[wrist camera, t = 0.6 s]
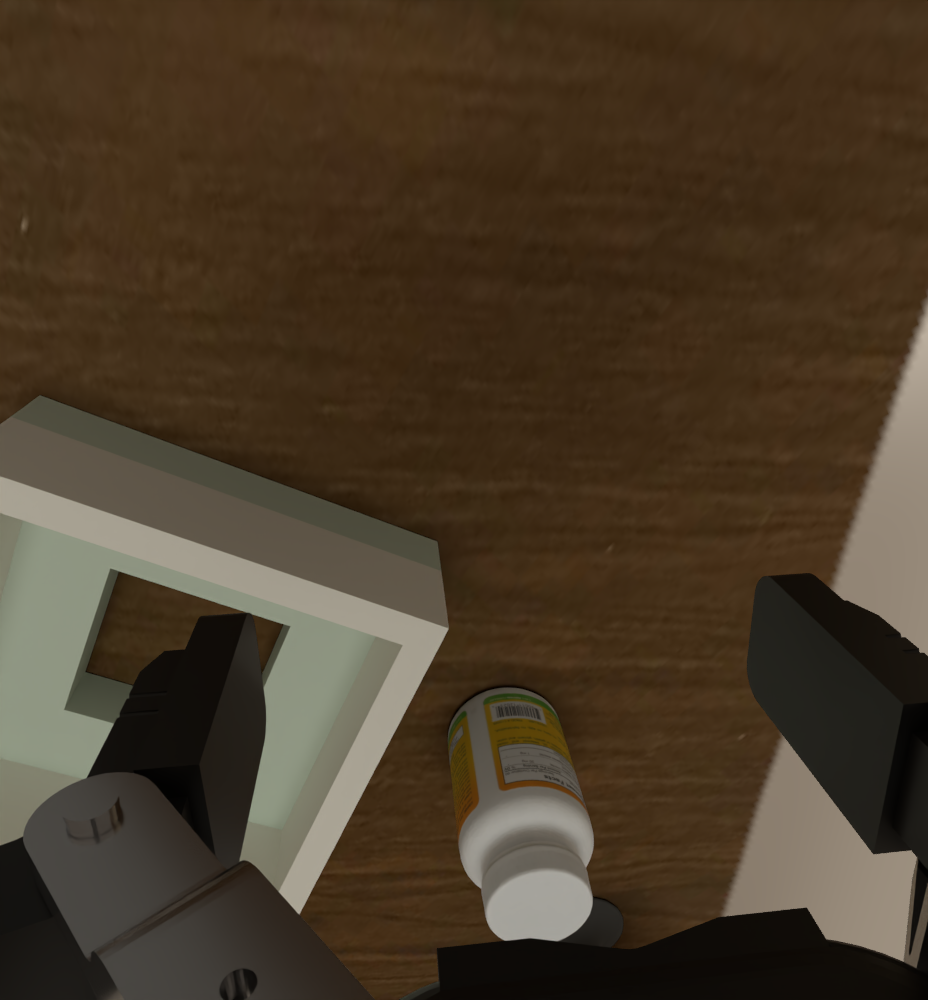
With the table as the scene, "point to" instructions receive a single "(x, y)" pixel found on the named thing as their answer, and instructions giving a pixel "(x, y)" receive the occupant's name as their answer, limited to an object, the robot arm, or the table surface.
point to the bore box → (216, 577)
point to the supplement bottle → (520, 815)
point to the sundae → (599, 926)
